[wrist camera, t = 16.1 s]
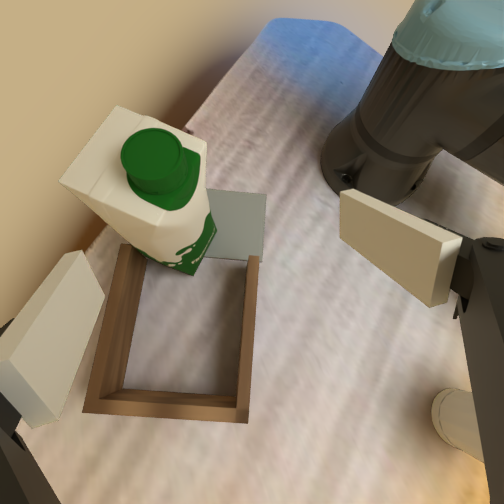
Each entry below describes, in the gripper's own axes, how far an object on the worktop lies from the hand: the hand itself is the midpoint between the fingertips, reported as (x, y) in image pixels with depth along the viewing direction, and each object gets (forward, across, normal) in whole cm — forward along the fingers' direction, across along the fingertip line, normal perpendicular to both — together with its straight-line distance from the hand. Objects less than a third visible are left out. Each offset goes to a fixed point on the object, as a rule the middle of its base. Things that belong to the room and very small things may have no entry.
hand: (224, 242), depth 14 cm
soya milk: (+22, -4, -9) cm, 24 cm away
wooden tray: (+15, -6, -17) cm, 23 cm away
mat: (+24, +1, -8) cm, 25 cm away
